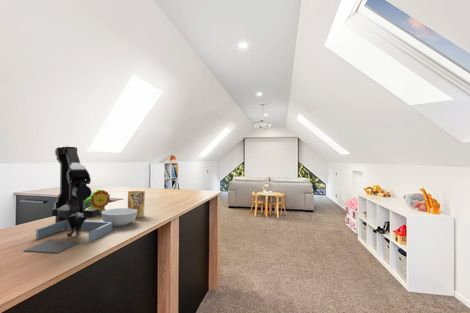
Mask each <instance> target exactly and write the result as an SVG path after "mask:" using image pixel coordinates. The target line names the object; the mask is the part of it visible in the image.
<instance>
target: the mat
mask: <svg viewBox="0 0 470 313" xmlns="http://www.w3.org/2000/svg"><path fill="white" fill-rule="evenodd" d="M78 244H80V242H79V241H69V240H68V241H64V240H51V239H50V240H46V241H44V242H42V243H39V244H37V245H34V246H31V247H29V248H25V249H24V250H23V252H27V253H28V252H30V253H45V254H46V253H48V254H59V253H61V252H63V251H66V250H68V249H70V248H72V247H74V246H77V245H78Z"/></svg>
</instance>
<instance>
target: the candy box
mask: <svg viewBox="0 0 470 313" xmlns="http://www.w3.org/2000/svg"><path fill="white" fill-rule="evenodd" d="M145 192H146V191H145V190H128V191H127V208H128V209H135V210H137V216H136V218H143V217H144V216H145V200H146V199H145V196H146V195H145V194H146V193H145Z"/></svg>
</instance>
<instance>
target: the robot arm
mask: <svg viewBox="0 0 470 313" xmlns="http://www.w3.org/2000/svg"><path fill="white" fill-rule="evenodd" d="M54 155H55V156H56V160H57V162H58V163H59V164H60V165H59V167H60V168H59V169H60V173H59V174H60V175H59V176H60V178H59V194H58V195H57V196H56V198H55V202H54V205H53V207H52V210H51V217H55V222H54V223H58V222H61V221H64V220H67V221H68V222H69V224H70V227H71V229H70V230H71V231H72V230H73V229H74V228H75V227H76V231H75V233H76V232H78V231H79V230H80V228H81V226H82V224H83V222H84V221H86V219H87V218H89V219H91V218H94V217H95V218H96V217H97V216H98V217H99V216H100V215H101V214H100V211H99V209H88V208H87V207H86V206H85V207H84V201H85V200H86V199H87V198H89V197H90V195H91V194H92V189H91V188H90V187H89V186H87V185H91V181H92V180H91V175H90V173H89V171H88V169H87V168H86V166H85V165H83V164H82V163H81V161H80V157H79V154H78V147H77V146H75V145H65V146H58V147H56V148H55V153H54ZM86 209H88V210H86ZM79 212H80V213H79Z"/></svg>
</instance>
